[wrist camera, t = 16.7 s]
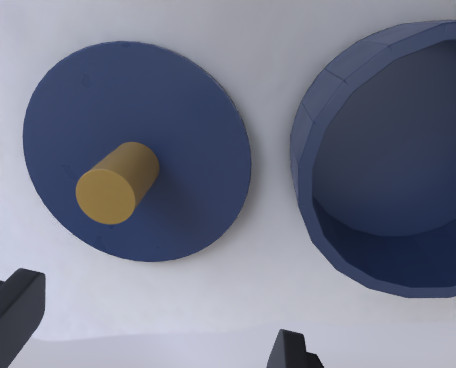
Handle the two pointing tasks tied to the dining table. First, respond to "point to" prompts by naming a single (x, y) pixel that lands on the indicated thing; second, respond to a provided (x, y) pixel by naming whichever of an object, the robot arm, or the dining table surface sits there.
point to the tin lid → (137, 151)
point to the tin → (383, 160)
